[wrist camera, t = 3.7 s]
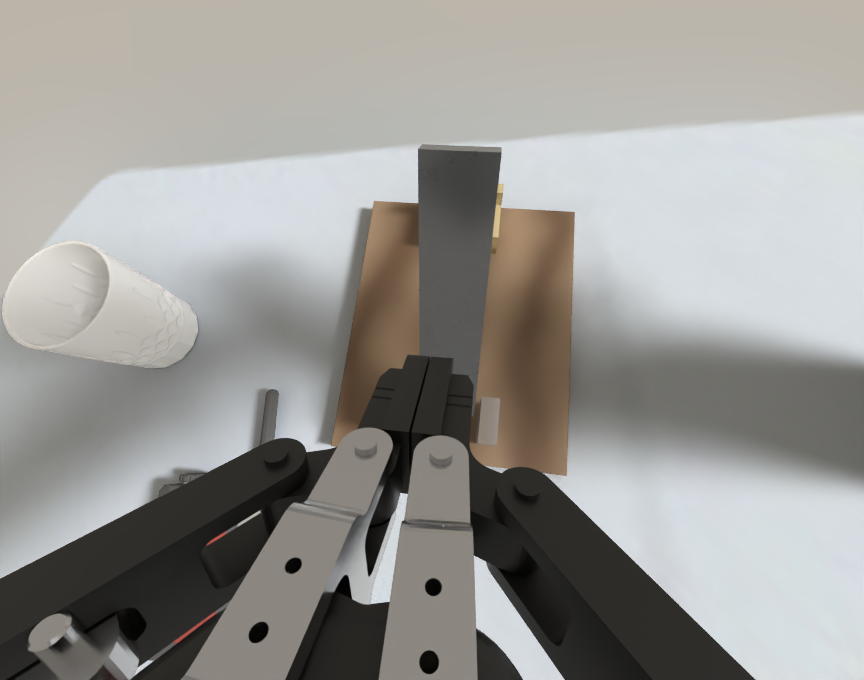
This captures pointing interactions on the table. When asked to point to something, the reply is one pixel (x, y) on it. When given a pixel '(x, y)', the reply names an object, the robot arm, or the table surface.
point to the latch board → (501, 339)
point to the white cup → (96, 309)
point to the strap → (455, 250)
